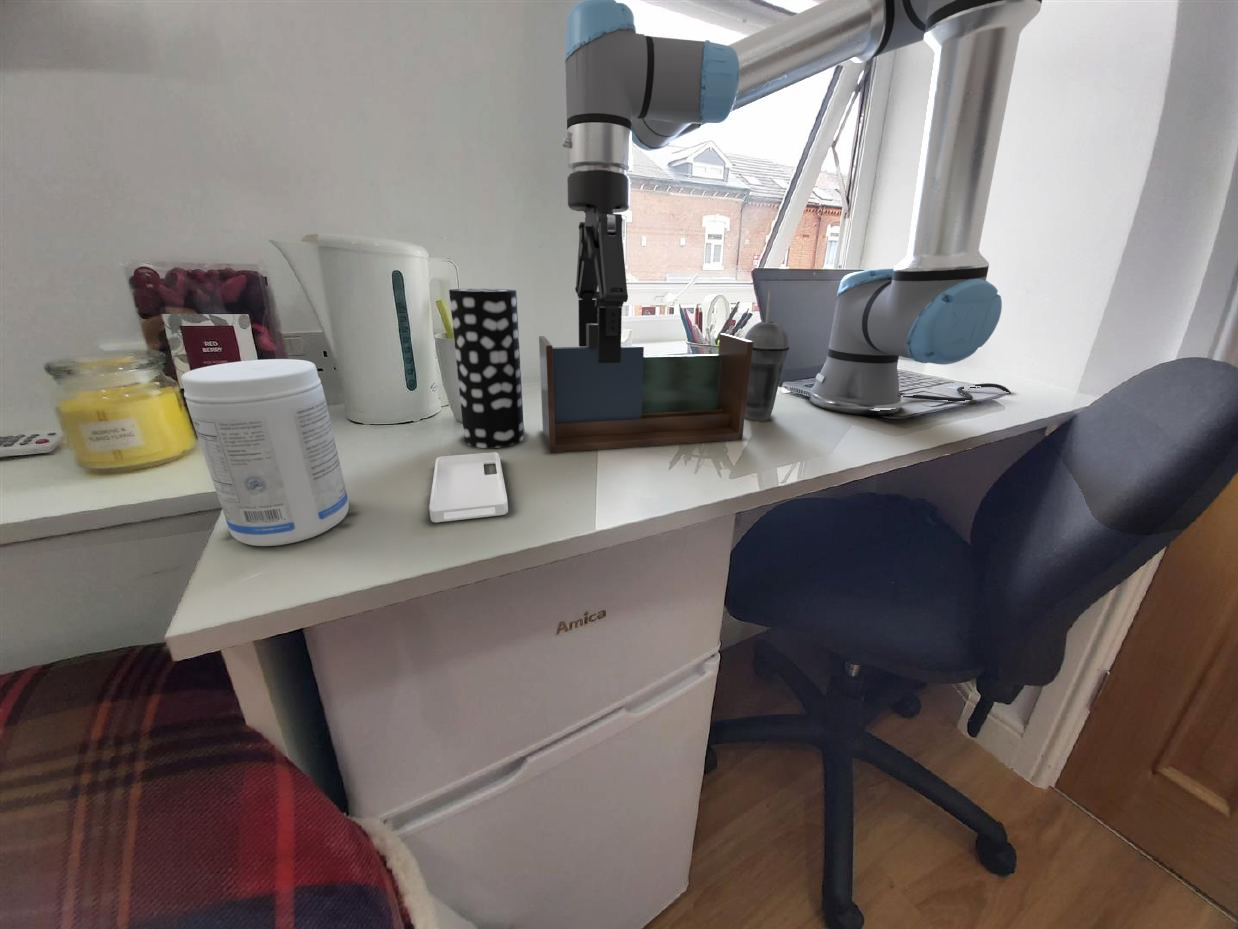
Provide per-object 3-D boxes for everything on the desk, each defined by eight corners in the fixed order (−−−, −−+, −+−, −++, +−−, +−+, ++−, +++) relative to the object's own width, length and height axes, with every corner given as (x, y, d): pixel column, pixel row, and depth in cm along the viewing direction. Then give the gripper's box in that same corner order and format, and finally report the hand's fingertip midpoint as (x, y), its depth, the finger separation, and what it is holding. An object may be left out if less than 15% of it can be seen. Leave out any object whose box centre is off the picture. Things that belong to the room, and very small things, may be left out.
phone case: (437, 466, 60) (430, 524, 47) (436, 456, 60) (428, 511, 47) (499, 461, 62) (509, 515, 49) (498, 451, 62) (508, 502, 48)
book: (638, 426, 73) (641, 322, 68) (641, 430, 71) (645, 324, 66) (554, 431, 70) (550, 323, 65) (556, 435, 69) (552, 325, 63)
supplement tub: (322, 493, 53) (291, 354, 47) (370, 519, 48) (340, 366, 42) (213, 529, 46) (160, 369, 40) (255, 563, 40) (201, 385, 35)
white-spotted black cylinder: (510, 450, 66) (499, 292, 59) (453, 445, 68) (436, 290, 60) (532, 432, 74) (525, 289, 66) (480, 427, 75) (468, 288, 68)
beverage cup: (738, 422, 80) (753, 291, 73) (730, 410, 87) (743, 289, 79) (784, 423, 80) (803, 292, 73) (772, 411, 87) (789, 290, 79)
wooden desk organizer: (716, 422, 80) (724, 333, 75) (742, 439, 72) (753, 341, 67) (542, 432, 74) (538, 336, 68) (550, 453, 66) (546, 345, 60)
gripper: (554, 186, 69) (557, 341, 77) (587, 148, 47) (587, 372, 55) (606, 189, 71) (604, 340, 79) (662, 154, 49) (652, 370, 57)
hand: (597, 353), depth 67 cm, fingers open, 13 cm apart
